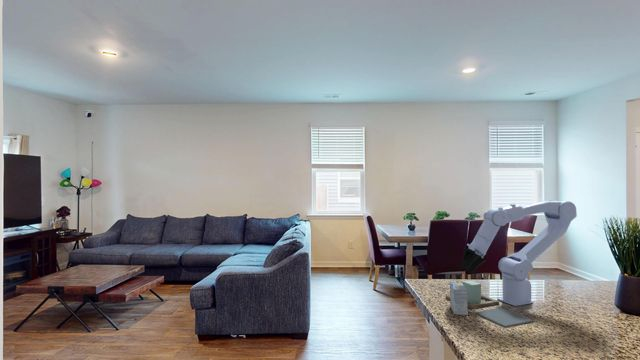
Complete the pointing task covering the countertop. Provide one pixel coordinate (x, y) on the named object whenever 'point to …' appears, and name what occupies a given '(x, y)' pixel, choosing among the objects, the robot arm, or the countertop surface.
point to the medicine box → (458, 298)
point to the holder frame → (481, 304)
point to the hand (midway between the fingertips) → (465, 270)
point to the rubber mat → (504, 317)
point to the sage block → (473, 291)
